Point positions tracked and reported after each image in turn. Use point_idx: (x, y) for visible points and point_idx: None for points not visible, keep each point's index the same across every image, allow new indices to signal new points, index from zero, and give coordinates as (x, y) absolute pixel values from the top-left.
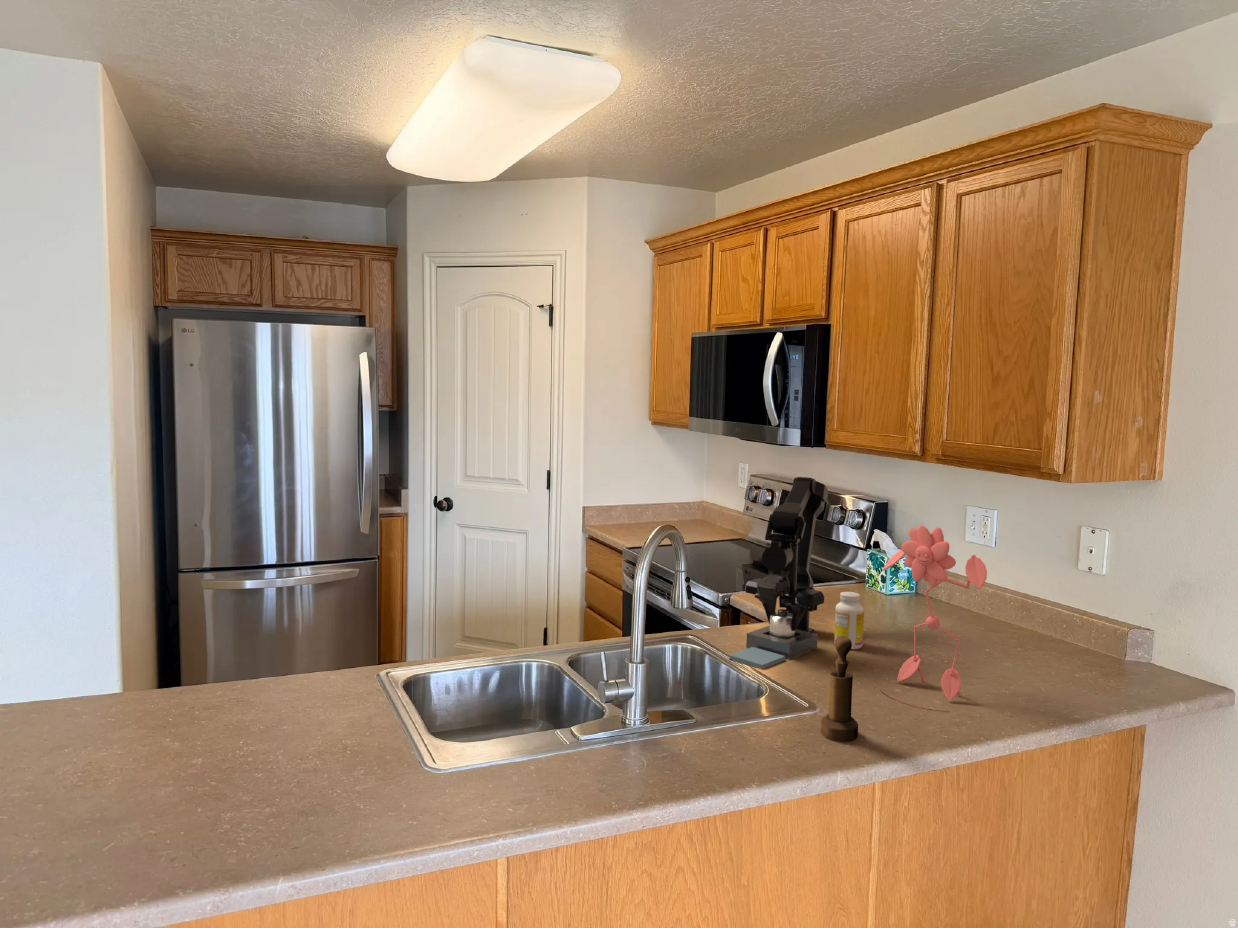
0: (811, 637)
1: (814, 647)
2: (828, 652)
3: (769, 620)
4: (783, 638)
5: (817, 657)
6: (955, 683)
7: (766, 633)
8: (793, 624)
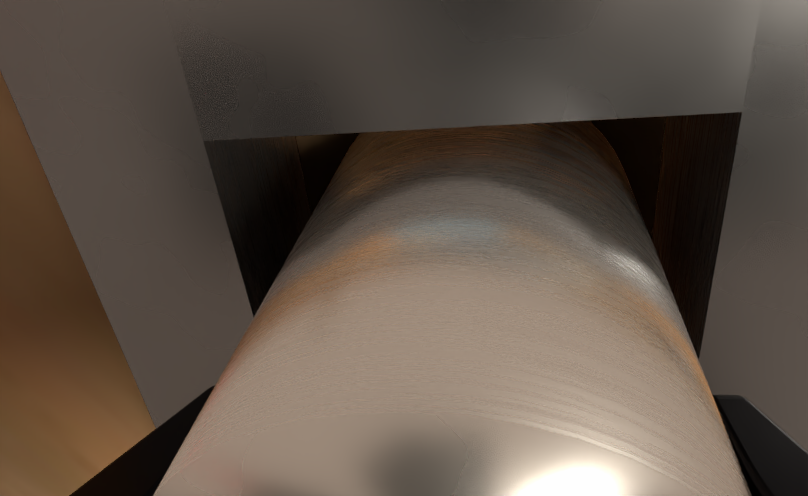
0: None
1: None
2: (142, 410)
3: (766, 452)
4: (326, 199)
5: (64, 249)
6: None
7: (711, 233)
8: (145, 459)
